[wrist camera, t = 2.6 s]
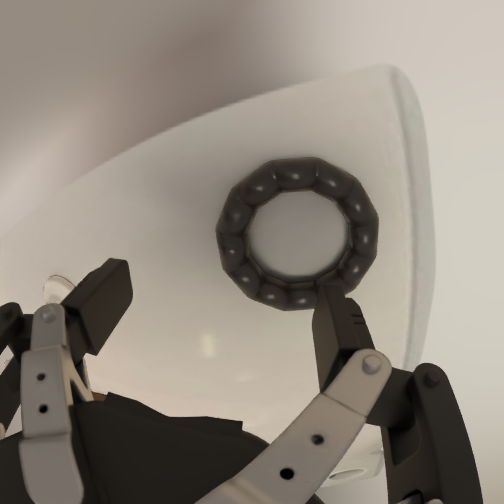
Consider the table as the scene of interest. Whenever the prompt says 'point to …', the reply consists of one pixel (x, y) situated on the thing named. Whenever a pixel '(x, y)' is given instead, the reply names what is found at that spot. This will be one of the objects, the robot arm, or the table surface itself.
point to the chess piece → (54, 294)
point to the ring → (283, 181)
